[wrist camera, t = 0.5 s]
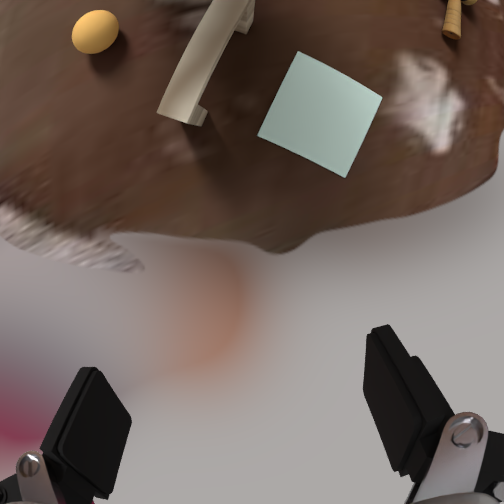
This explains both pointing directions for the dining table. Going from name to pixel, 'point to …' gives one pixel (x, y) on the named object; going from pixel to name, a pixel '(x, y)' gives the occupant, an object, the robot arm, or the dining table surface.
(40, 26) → the dining table surface
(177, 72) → the bridge
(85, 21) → the ball
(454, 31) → the kendama
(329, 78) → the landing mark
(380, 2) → the dining table surface
